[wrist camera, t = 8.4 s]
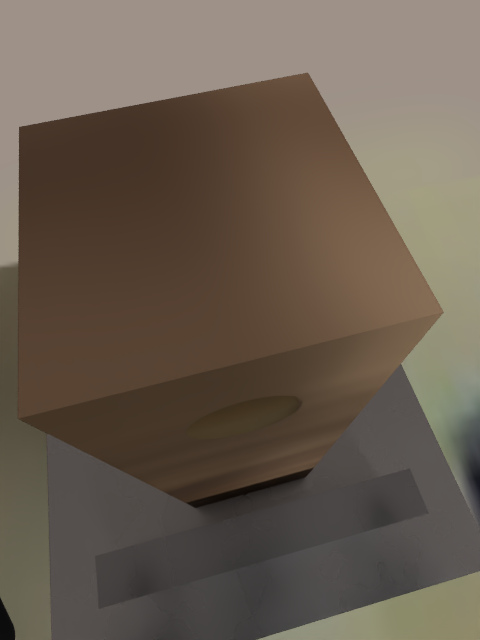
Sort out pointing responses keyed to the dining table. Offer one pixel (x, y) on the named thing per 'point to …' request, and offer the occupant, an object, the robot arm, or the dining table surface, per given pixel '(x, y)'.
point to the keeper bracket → (258, 538)
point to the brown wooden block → (207, 287)
